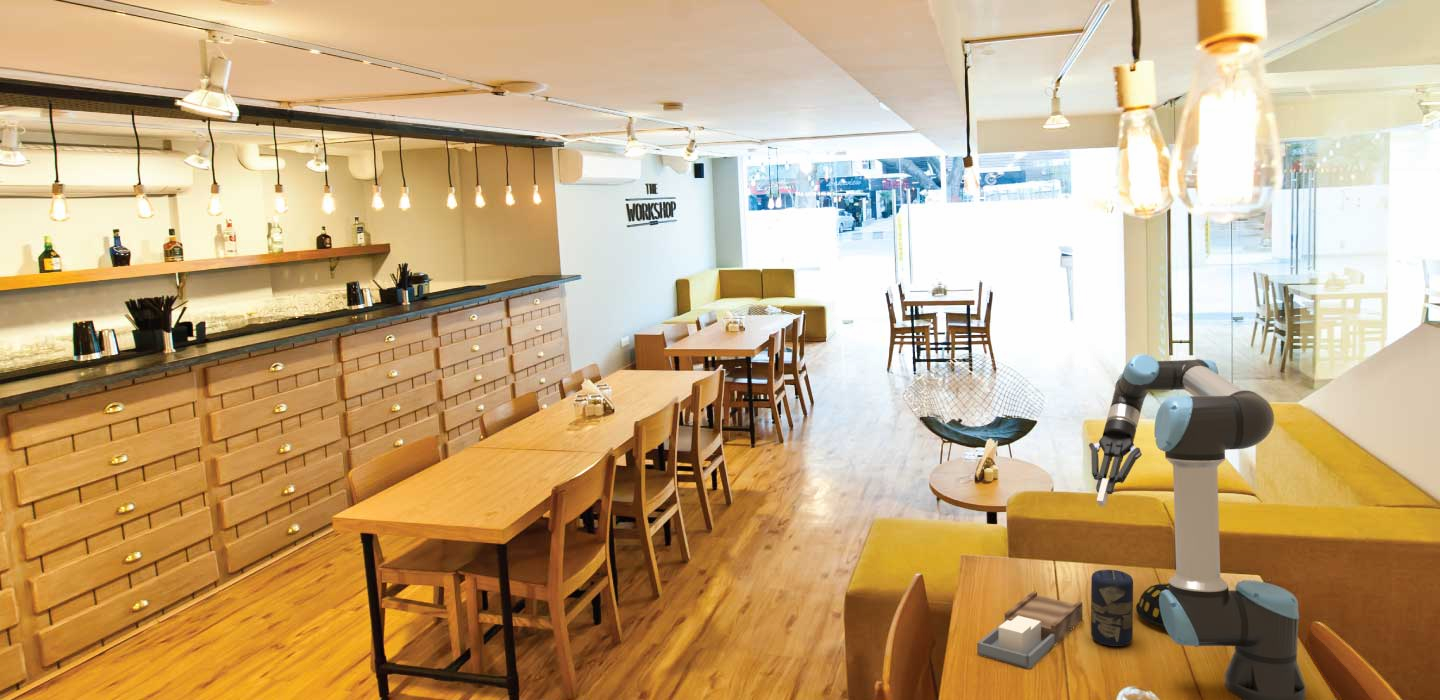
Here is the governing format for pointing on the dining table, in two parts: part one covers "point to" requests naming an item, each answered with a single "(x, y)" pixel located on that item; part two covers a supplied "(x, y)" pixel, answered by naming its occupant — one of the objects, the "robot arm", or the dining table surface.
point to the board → (1048, 614)
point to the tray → (992, 650)
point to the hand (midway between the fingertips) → (1100, 503)
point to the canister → (1112, 607)
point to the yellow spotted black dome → (1151, 604)
